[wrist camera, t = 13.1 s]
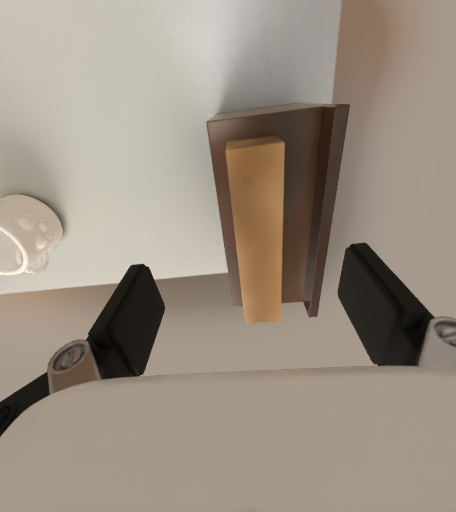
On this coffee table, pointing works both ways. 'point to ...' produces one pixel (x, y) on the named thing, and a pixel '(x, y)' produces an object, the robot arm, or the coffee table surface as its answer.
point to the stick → (258, 222)
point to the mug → (26, 234)
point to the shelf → (288, 188)
